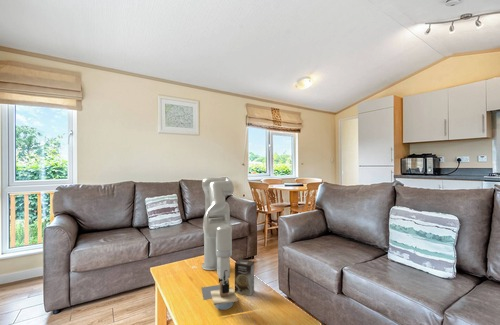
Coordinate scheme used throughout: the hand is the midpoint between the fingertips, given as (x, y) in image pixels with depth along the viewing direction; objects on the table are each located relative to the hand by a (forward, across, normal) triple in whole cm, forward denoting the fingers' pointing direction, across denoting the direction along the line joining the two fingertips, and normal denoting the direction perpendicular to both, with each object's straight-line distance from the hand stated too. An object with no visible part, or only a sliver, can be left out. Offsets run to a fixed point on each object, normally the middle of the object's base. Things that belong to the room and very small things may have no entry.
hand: (223, 287), depth 114 cm
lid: (+4, 0, 0) cm, 5 cm away
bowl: (+8, 0, 0) cm, 8 cm away
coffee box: (+9, -8, +13) cm, 17 cm away
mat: (+8, -12, -3) cm, 15 cm away
